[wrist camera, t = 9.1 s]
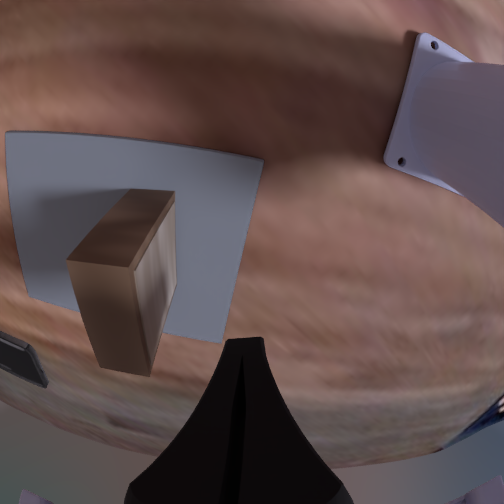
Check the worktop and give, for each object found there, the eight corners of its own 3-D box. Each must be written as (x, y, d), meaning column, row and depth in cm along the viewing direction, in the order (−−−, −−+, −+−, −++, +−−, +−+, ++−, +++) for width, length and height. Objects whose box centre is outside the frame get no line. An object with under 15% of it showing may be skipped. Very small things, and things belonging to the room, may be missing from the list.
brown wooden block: (176, 191, 15) (130, 267, 9) (178, 284, 18) (150, 376, 12) (130, 188, 15) (65, 260, 9) (138, 279, 18) (100, 367, 12)
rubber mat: (263, 159, 15) (264, 162, 15) (221, 338, 22) (221, 343, 21) (10, 130, 13) (5, 132, 13) (31, 292, 20) (29, 296, 19)
